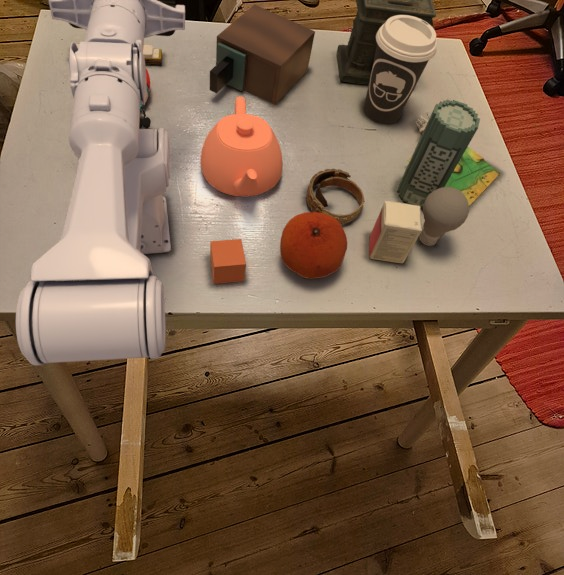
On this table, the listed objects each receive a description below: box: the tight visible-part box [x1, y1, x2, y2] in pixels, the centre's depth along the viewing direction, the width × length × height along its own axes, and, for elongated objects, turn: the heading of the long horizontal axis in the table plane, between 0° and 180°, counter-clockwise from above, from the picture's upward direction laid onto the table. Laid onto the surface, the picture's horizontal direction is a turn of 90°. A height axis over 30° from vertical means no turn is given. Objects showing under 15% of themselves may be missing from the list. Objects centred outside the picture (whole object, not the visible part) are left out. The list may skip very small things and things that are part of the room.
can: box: [397, 99, 481, 209], centre depth 74 cm, size 6×6×15 cm
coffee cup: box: [363, 15, 438, 125], centre depth 84 cm, size 10×10×15 cm
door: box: [209, 42, 247, 94], centre depth 84 cm, size 6×5×7 cm
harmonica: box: [75, 43, 163, 66], centre depth 88 cm, size 15×3×2 cm, turn 95°
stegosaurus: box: [415, 111, 431, 135], centre depth 87 cm, size 2×7×5 cm
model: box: [336, 0, 437, 86], centre depth 89 cm, size 14×9×15 cm, turn 93°
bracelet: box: [306, 168, 365, 225], centre depth 76 cm, size 9×9×3 cm
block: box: [209, 238, 247, 285], centre depth 67 cm, size 4×4×4 cm
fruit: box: [279, 211, 348, 280], centre depth 68 cm, size 9×9×8 cm
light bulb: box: [419, 187, 470, 247], centre depth 71 cm, size 6×6×10 cm
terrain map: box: [407, 146, 501, 207], centre depth 84 cm, size 12×12×1 cm
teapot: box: [200, 96, 284, 198], centre depth 74 cm, size 12×18×10 cm
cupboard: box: [215, 4, 316, 106], centre depth 88 cm, size 12×12×8 cm
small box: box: [368, 200, 423, 264], centre depth 70 cm, size 5×4×8 cm
